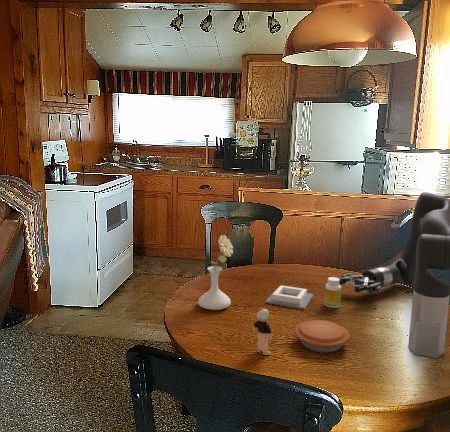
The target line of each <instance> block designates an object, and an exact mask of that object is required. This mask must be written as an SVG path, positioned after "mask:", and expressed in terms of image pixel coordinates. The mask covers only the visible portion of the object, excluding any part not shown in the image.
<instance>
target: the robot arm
mask: <svg viewBox="0 0 450 432" xmlns="http://www.w3.org/2000/svg"><path fill="white" fill-rule="evenodd" d="M410 220H411V221H410V225H409V231H408V234H407V239H406V242H405V245H403V246H404V247H403V249H402V252H401V258H398V259H396V260H394V262H392V263H391V264H389V265H387V266H383V267H376V268H370V269H367V270H364V271H363V272H362V273H361V274H358V275H355V273H354V272H349V273H345V274H340V276H341V277H340V278H339V279H340V282H339V285H340V286H342V285H350V286H354V293H357V294H358V293H361V292H368V293H369V294H372V293H375V292H378V291H381V289H382V288H386V287H387V286H391V285H395V284H397V283H399V282H400V281H402V282H403V283H404V284H406V285H412V284H413V291H412V293H413V294H412V299H411V300H412V302H411V311H410V312H411V313H410V323H409V331H408V333H409V334H408V344H407V345H408V349H409V350H410V351H411V352H413V354H414V355H419V356H423V357H429V358H433V359H438V358H439V357H440V356H442V355H444V349H445V342H446V341H445V340H446V332H447V323H448V313H449V306H450V305H449V304H450V282H448V281H446V280H445V279H442V278H441V277H438V276H436V275H435V274H433V273H432V272H430V271H429V269H430V270H431V269H432V270H443V271H450V199H449V198H448V197H446V196H443V195H439V194H435V193H431V192H427V191H423V192H421V193H420V194H419V196H418V198H417V200H416V203H415V205H414V210H413V213H412V217H411V219H410Z"/></svg>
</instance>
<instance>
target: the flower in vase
mask: <svg viewBox="0 0 450 432" xmlns="http://www.w3.org/2000/svg"><path fill="white" fill-rule="evenodd" d="M217 243H218V247H219V250H220V251H219V253H218V256H217V260H216V261H214V260H212V259H211V260H210V262H209V263H210V264H212V265H213V266H208V267H207V271H208V272H209V275H210V278H211V280H210V283H211V284H210V289H209V290H208V291H206V292H205V293H204V294H202V295H201V296H200V297H199V298H198V301H197V303H198V305H199V306H200V307H201V308H203V309H204V310H205V309H206V310H209V309H210V310H209V311H217V310H218V311H219V310H223V309H226V308H228V307H229V306H230V305H231V304H232V301H231V298H230V297H229V296H228V295H227V294H225V293H224V292H223V291H222V290H220V288H219V275H220V273H221V271H222V270H223V268H222V267H221V266H217V265H218V263H219V262H220V263H225V262H226V261H227V257H229V258H230V257H232V255H233V254H234V250H233V249H234V246H233V245H232V242H231V239H229V238H227V236H226V234H223V235H222V234H221V235H220V236H219V238H218V241H217ZM222 254H223V255H222ZM218 261H219V262H218Z"/></svg>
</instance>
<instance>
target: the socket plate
mask: <svg viewBox="0 0 450 432" xmlns="http://www.w3.org/2000/svg"><path fill="white" fill-rule="evenodd" d="M313 297H314V293H310V292H308V289H307V288H300V287H295V286H289V285H288V286H287V285H281V284H280V286H278V288H276V289H274V290H273V292H272V293H271V294H270V295H269V297H267V299H266V300H265V301H264V303H265V304H266V303H269V304H268V305H272V304H275V305H274V306H278V305H280V306H279V307H284V306H286V307H285V308H290V307H291V308H292V309H296V308H298V310H303V309H304V311H305V310H306V308H307V307H308V305H309V303H310V302H311V300H312V299H313ZM311 298H312V299H311ZM306 306H307V307H306ZM291 308H290V309H291Z"/></svg>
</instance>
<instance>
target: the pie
mask: <svg viewBox="0 0 450 432" xmlns="http://www.w3.org/2000/svg"><path fill="white" fill-rule="evenodd" d="M294 332H295V335H296V336H297V338H298V339H299V340H300V342H301V343H302V345H303V346H304V348H306V349H308V350H310V351H313V352H316V351H317V352H318V353H333V351H334V352H336V351H339V349H341V348H342V347H343V345H344V344H345V343H346V342H347V341H349V338H350V332H349V331H348V330H347V329H346V327H343V326H342V325H339V324H337V323H335V322H332V321H329V320H323V319H313V320H308V321H304V322H300V323H299V324H297V326H296V327H295V329H294ZM317 352H316V353H317Z"/></svg>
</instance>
